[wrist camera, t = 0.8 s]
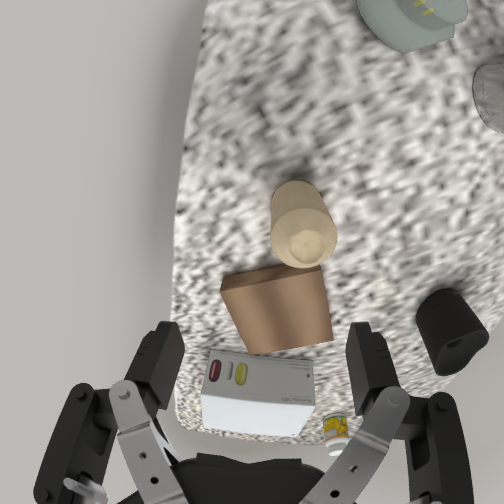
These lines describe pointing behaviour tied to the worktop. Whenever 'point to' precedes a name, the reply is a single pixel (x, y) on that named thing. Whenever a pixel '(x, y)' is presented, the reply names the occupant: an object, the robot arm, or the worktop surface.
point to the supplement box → (257, 394)
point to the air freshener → (412, 21)
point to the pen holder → (450, 331)
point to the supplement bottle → (335, 433)
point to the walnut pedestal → (278, 307)
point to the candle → (301, 226)
